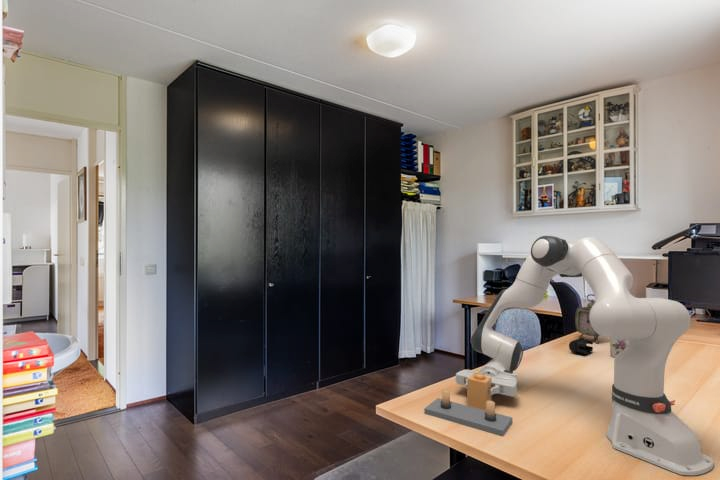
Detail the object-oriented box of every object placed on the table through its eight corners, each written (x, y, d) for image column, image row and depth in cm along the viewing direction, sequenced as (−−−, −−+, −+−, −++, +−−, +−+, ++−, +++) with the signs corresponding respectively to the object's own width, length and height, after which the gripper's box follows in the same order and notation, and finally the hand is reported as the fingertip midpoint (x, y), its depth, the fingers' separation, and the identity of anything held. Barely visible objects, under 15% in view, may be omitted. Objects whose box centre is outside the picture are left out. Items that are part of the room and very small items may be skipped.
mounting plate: (512, 422, 117) (512, 400, 117) (502, 436, 109) (503, 412, 109) (437, 402, 131) (437, 382, 131) (424, 413, 123) (424, 392, 123)
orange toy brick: (491, 404, 130) (491, 373, 130) (485, 410, 125) (485, 379, 125) (473, 400, 133) (473, 370, 133) (467, 406, 128) (467, 375, 128)
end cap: (577, 349, 195) (577, 336, 194) (593, 353, 189) (593, 339, 189) (568, 353, 188) (568, 339, 188) (584, 357, 183) (584, 342, 183)
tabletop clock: (574, 338, 217) (575, 292, 217) (587, 336, 220) (588, 292, 220) (597, 344, 203) (598, 296, 203) (611, 343, 206) (611, 296, 206)
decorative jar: (652, 361, 177) (652, 321, 177) (635, 364, 173) (635, 323, 173) (625, 353, 188) (626, 316, 188) (609, 356, 184) (609, 318, 184)
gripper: (463, 362, 146) (448, 373, 134) (521, 374, 134) (510, 386, 123) (463, 379, 146) (448, 391, 134) (521, 392, 134) (510, 406, 123)
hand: (478, 389), depth 128 cm, fingers closed on orange toy brick, 6 cm apart
